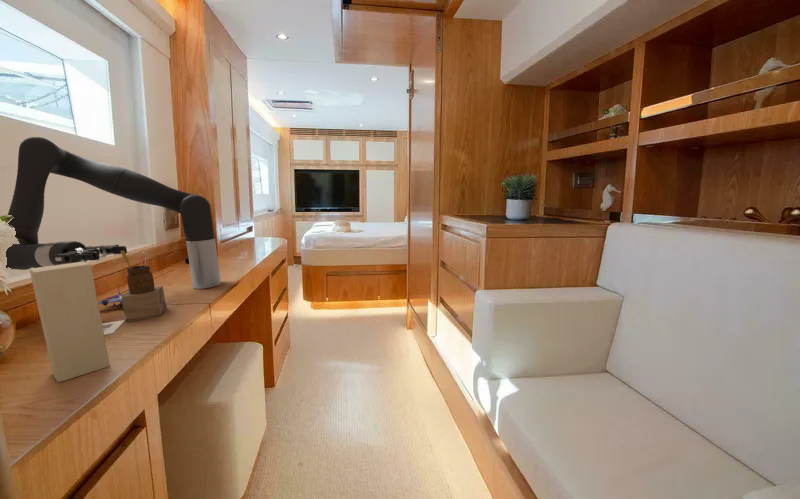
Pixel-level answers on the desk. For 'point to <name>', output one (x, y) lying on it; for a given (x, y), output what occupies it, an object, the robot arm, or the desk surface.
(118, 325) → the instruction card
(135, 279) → the utensil holder
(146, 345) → the desk surface
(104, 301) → the toy airplane
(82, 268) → the toy refrigerator
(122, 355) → the desk surface
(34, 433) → the desk surface
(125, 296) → the walnut base block
